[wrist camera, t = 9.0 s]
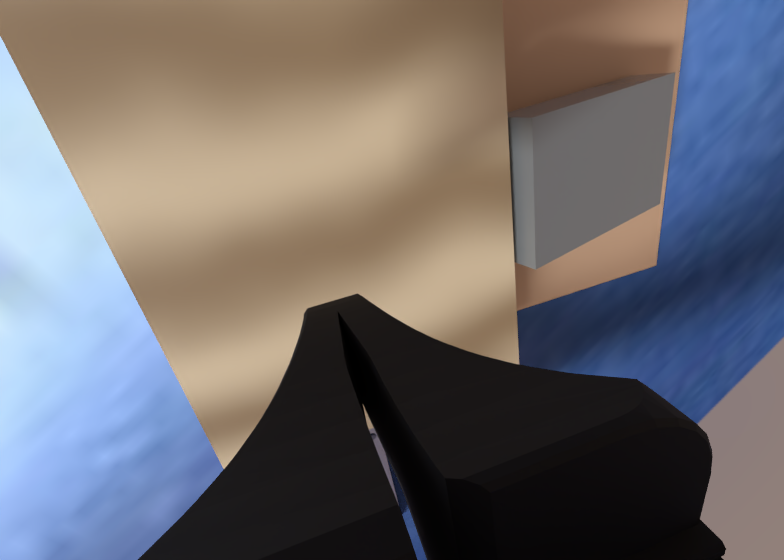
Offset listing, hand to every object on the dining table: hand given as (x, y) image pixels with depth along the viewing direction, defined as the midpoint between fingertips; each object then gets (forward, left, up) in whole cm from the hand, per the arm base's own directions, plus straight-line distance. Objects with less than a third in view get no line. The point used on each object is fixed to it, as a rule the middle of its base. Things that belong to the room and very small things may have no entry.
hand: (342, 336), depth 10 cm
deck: (0, -1, -10) cm, 10 cm away
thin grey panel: (0, -12, -8) cm, 15 cm away
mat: (0, -14, -10) cm, 17 cm away
